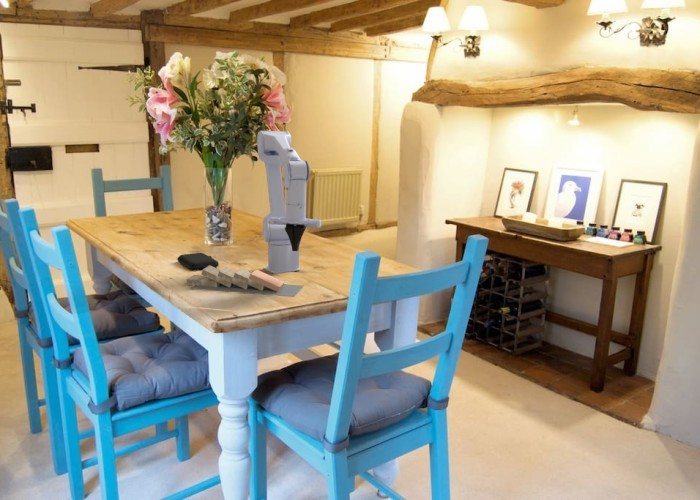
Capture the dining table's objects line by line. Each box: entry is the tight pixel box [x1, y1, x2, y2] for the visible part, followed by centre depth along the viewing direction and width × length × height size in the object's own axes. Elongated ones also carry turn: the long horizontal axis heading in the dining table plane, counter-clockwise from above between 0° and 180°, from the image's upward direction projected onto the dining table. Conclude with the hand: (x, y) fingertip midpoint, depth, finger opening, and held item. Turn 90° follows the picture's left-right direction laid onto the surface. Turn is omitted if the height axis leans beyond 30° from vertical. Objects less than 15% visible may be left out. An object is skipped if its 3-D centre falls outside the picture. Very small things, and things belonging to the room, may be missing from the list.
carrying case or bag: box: [176, 252, 220, 271], centre depth 189 cm, size 11×3×15 cm
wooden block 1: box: [218, 266, 250, 289], centre depth 166 cm, size 2×5×9 cm
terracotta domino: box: [249, 269, 286, 292], centre depth 164 cm, size 2×5×9 cm
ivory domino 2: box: [200, 265, 234, 288], centre depth 167 cm, size 2×5×9 cm
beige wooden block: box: [186, 274, 221, 287], centre depth 168 cm, size 2×5×9 cm
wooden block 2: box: [233, 268, 266, 291], centre depth 165 cm, size 2×5×9 cm
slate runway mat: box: [190, 283, 304, 298], centre depth 166 cm, size 30×11×1 cm, turn 80°
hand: (295, 250), depth 168 cm, fingers closed
